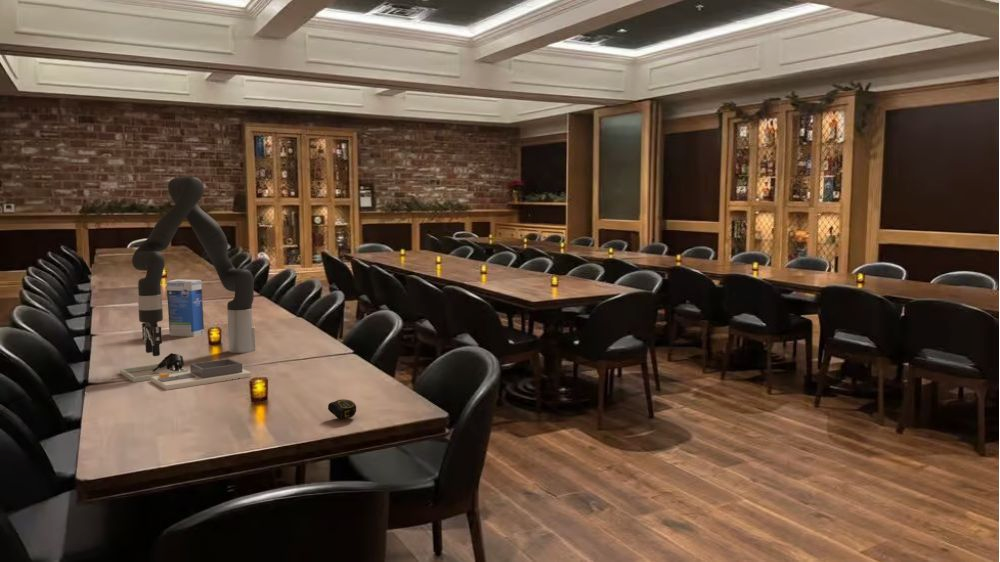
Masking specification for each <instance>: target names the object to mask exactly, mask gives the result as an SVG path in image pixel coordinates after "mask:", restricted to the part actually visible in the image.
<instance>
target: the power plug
mask: <svg viewBox="0 0 1000 562" xmlns="http://www.w3.org/2000/svg"><path fill="white" fill-rule="evenodd" d="M183 357H184V356H183V355H180V354H178V353H172V352H171V353H169V354H168V355H167V356H165V357H164V359H162V360H161V361H160V362H159V363H157V364H158V367H157V368H155V369H152V372H156V371H157V370H159V369H163V367H164V368H167V370H170V371H171V372H175V371H180V369H181V368H182V367H183V368H184V366H185V361H184V358H183ZM166 365H167V367H165V366H166Z"/></svg>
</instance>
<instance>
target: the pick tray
mask: <svg viewBox="0 0 1000 562" xmlns="http://www.w3.org/2000/svg"><path fill="white" fill-rule="evenodd" d="M158 364H159V363H156V364H155V363H154V364H147V365H141V366H140V365H139V366H133V367H128V368H127V367H125V368H120V369H119V374H120V375H122V376H123V377H124V378H127V379H128V380H129V381H131V382H133V383H138V382H145V381H151V377H153V376H159V374H163V373H164V372H161V373H154V374H148V375H141V376H135V375H133V374H132V373H135V372H142V371H149V370H154V369H155V368H157V367H158ZM163 368H167V365H166V366H165V367H163ZM163 368H162V369H163ZM188 371H189V369H187V368H185V367H184V366H183V367H182V368H181V369H180V371H178V370H175V371H169V372H168V371H167V373H168V374H174V373H181V372H188Z"/></svg>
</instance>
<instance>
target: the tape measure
mask: <svg viewBox="0 0 1000 562" xmlns="http://www.w3.org/2000/svg"><path fill="white" fill-rule="evenodd" d="M327 410H328V411H329V412H330V413H331V414H332V415H333V416H334V417H336V419H338V420H344V419H351V418H352V417H354V416H355V415H356V413H357V405H356V403H355V402H354V401H353V400H350V399H343V398H342V399H338V400H334V401H331V402H330V403H328V405H327Z"/></svg>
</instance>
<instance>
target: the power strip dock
mask: <svg viewBox="0 0 1000 562" xmlns="http://www.w3.org/2000/svg"><path fill="white" fill-rule="evenodd" d="M189 367H190V369H189V370H188V372H181V373H174V374H168V372H162V373H163V374H161V373H158V374H159V376H153V377H151V380H150V382H152V383H153V384H155V385H156V386H158V387H160V388H162V389H164V390H166V391H169V390H175V389H181V388H187V387H194V386H202V385H206V384H208V385H209V384H213V383H221V382H226V380H227V381H232V379H233V380H239V379H238V378H240V379H244V378H245V379H246V378H249V377H252V372H251V371H249V370H247V369H244V368H243V363H241V362H239V361H237V360H234V359H231V358H224V359H217V360H215V359H214V360H209V361H201V362H194V363H190V364H189Z"/></svg>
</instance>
